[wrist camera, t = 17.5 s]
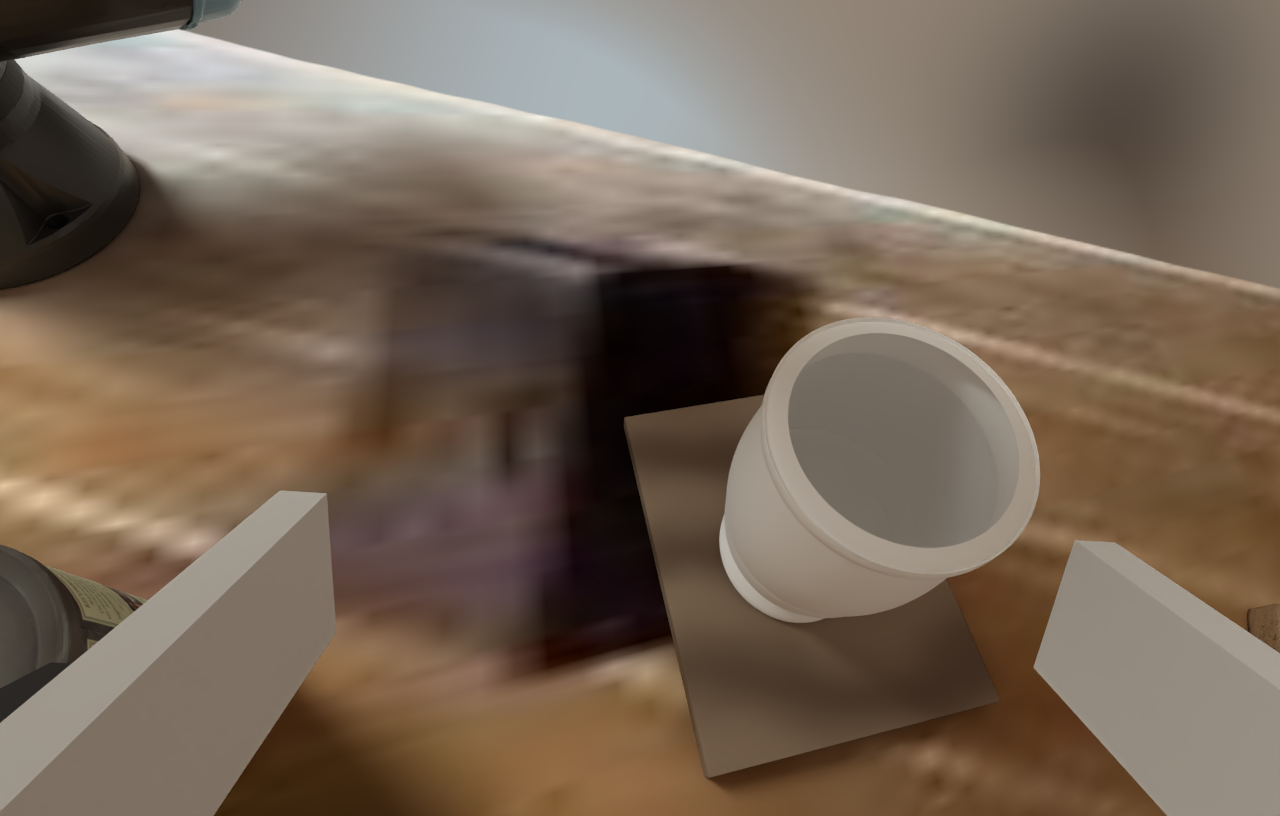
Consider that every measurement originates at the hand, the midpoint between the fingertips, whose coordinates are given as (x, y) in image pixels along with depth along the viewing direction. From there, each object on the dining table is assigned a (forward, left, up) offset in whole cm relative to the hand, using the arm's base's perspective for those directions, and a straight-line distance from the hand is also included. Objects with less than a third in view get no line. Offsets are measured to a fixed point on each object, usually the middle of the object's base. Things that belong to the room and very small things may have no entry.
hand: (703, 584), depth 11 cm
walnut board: (-6, +11, -25) cm, 28 cm away
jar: (-6, +11, -24) cm, 27 cm away
